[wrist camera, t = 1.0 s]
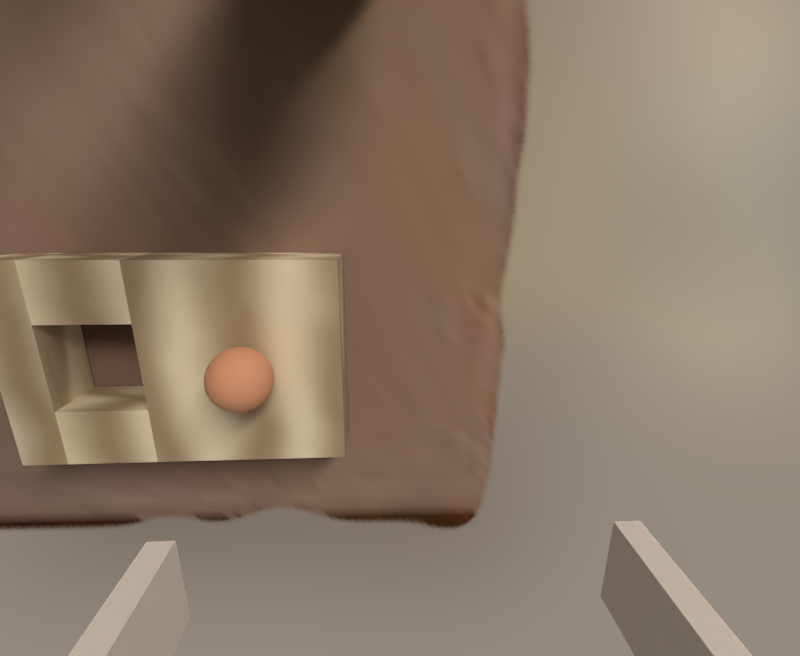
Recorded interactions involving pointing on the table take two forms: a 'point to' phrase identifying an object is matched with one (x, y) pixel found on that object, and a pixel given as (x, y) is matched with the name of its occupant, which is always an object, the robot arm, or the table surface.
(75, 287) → the block
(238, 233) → the table surface
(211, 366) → the ball
